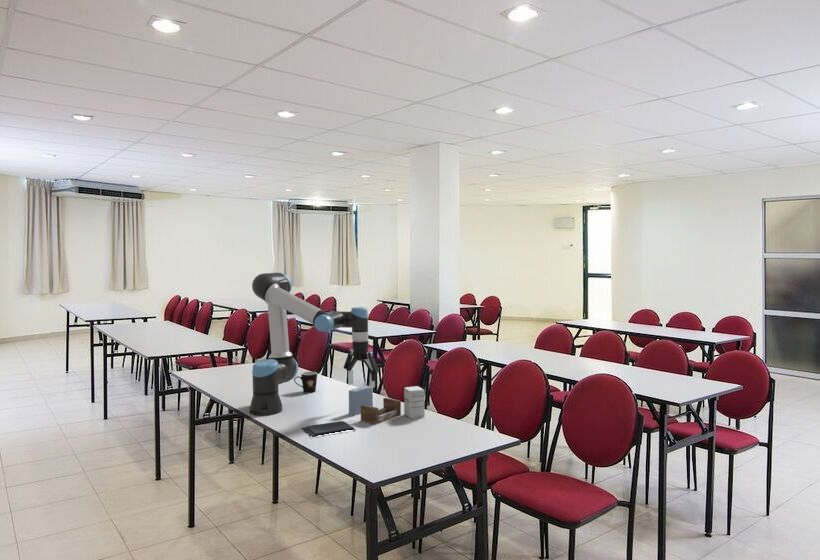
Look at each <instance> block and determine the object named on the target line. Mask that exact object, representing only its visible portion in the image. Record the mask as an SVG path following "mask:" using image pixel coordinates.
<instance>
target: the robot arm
mask: <svg viewBox="0 0 820 560" xmlns="http://www.w3.org/2000/svg"><path fill="white" fill-rule="evenodd" d="M251 283H252V284H251V288H252V289H251V290H252V291H253V293H254V295H255V296H256V297H257V298H259V299H261V300H262V301H263V302H265V303H266V304H267V310H268V312H267V313H268V325H269V337H270V351H271V353H270V354H269V356H268V359H262V360H258V361H255V363H253V365H252V370H251V374H252V397H251V401H250V405H249V407H248V409H249V410H248V411H249V414H251V415H254V416H270V415H275V414H279V413H281V412H282V411H283V403H282V400H281V398H280V395H279V385H281V384H285V383H288V382H290V381H291V380H294V379H295V377H297V374H298V371H299V364H298V362H297V360H296V359H295V358H294V355H293V353H292V352H291V351H290V341H289V332H288V331H289V328H288V316H287V311H288V312H289V313H291V314H294V315H295V316H297V317H299V318H301V319H302V320H304V321H306V322H309V323H310V324H312V325H314V327H315V328H316V330H317V331H318V332H324V333H325V332H326V333H327V332H330V331H332V330H336V329H337V330H338V329H340V328H344V329H345V328H346V329H347V328H349V329H350V328H351V340H352V342H351V344H352V346H351V347H352V349H349V350H347V357H346V359H345V362H344V365H343V369H344V370H346V376H347V382H348V383H347V385H348V386H351V385H354V370H353V368H354V366H355V365H356V364H357V362H358V361H360V362H363V363H364V365H365V366H366V367H367V369H368V371H369V372H370V373H369V386H370V388H373V389H374V388H375V387H376V380H377V377H376V375H377V373H379V372H380V369H379V366H378V364H377V361H376V359H375V355H374V351H370V352H369V351H368V349H369V344H370V343H369V315H368V314H369V313H368V312H369V311H368V308H367V307H364V306H354V307H352V308H351V309H350V310H351V311H338V310H335V311H330V312H329V313H328V312H326V311H325V310H323V309H321V308H319V307H317V306H315V305H314V304H311V303H309V302H307V301H306V300H304V299H302V298H300V297H298V296H296V295H295V294H292V293H291V291H292V289H293V283H292V281H291V279H290V277H288V275H287V274H285V273H283V272H267V273H266V272H265V273H263V272H262V273H260V274H258V275H257V276H255V277H254V279H253V280H252V282H251Z"/></svg>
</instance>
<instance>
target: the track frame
mask: <svg viewBox="0 0 820 560" xmlns="http://www.w3.org/2000/svg"><path fill="white" fill-rule="evenodd" d="M382 401H383V403H382V404H383V405H382V406H383V407H381V408H379V407H375V406H373V407H371V406H367V405H361V414H360V421H361V422H364V421H365V423H368V422H369V424H372V425H378V424H381V423H383V421H384V422H386V420H387V421H389V420H392V419H394V418H397V417H400V416H401V415H402V411H401V408H402V406H401V405H402V403H401V400H400V399H395V398H389V397H383V399H382Z"/></svg>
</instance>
